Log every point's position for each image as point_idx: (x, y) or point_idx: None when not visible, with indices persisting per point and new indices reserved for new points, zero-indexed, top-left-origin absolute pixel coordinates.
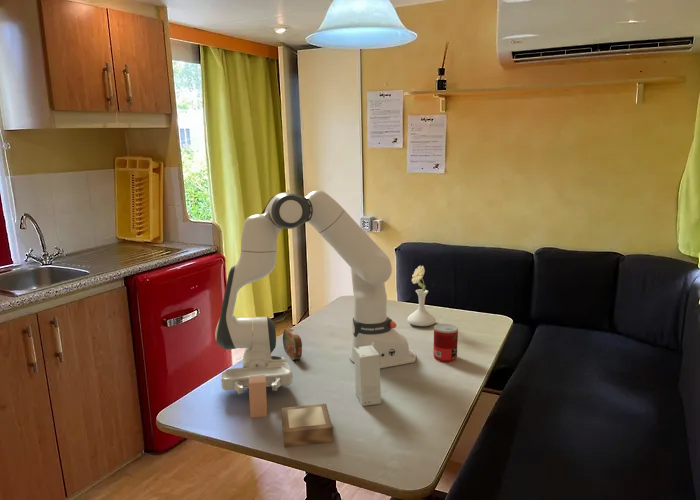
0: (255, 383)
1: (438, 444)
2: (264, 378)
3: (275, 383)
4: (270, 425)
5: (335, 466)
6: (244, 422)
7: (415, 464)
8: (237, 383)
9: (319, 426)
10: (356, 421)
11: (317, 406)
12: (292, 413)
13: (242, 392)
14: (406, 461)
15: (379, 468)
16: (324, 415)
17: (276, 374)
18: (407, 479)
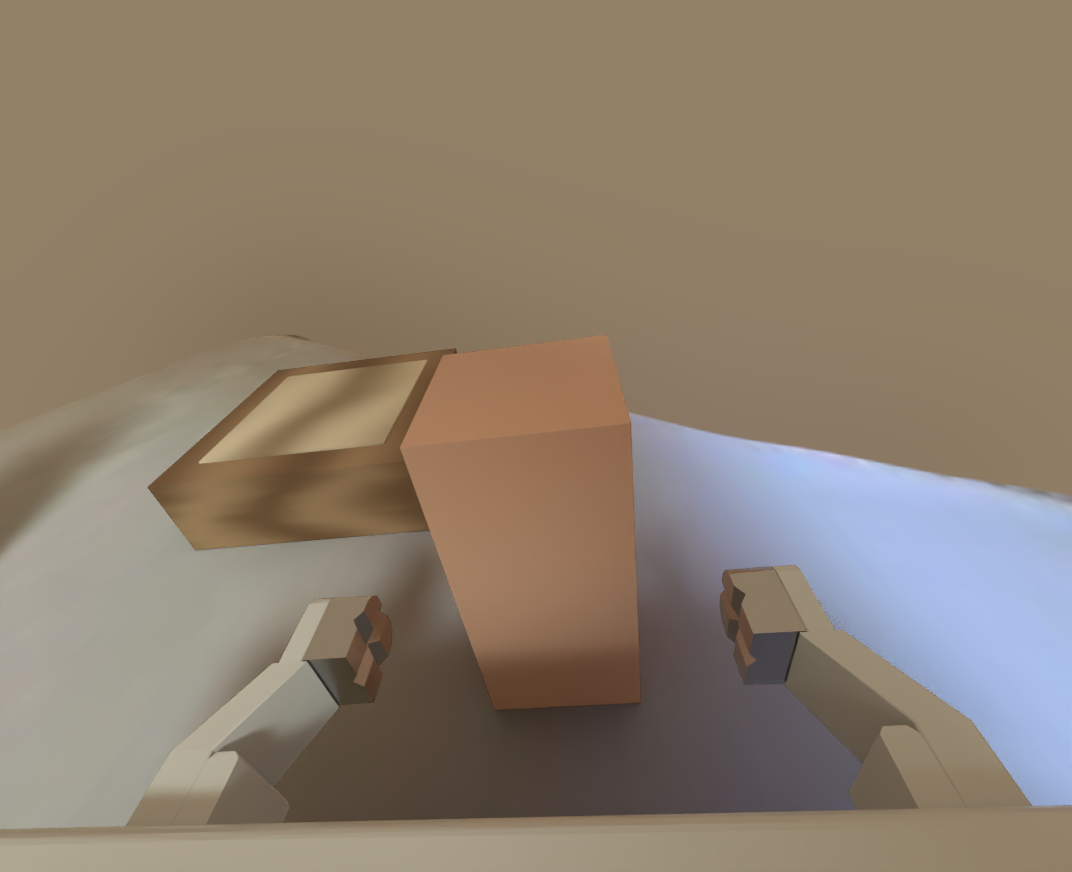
0: (541, 348)
1: (57, 416)
2: (436, 394)
3: (311, 630)
4: None
5: None
6: (653, 538)
7: (191, 372)
8: (881, 695)
9: (317, 371)
10: (113, 513)
11: (213, 466)
12: (372, 420)
13: (726, 597)
14: (197, 376)
15: (272, 362)
16: (247, 413)
17: (133, 850)
18: (250, 347)
